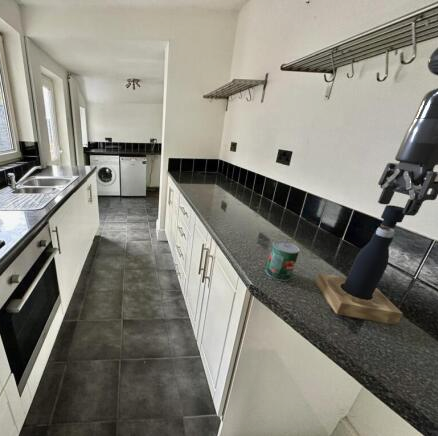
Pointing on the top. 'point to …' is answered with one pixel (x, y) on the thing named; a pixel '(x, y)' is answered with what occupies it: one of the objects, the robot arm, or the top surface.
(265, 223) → the top surface
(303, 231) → the top surface
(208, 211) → the top surface
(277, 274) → the canned tomato
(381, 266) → the dark blue water bottle
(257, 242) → the top surface
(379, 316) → the hole plate
